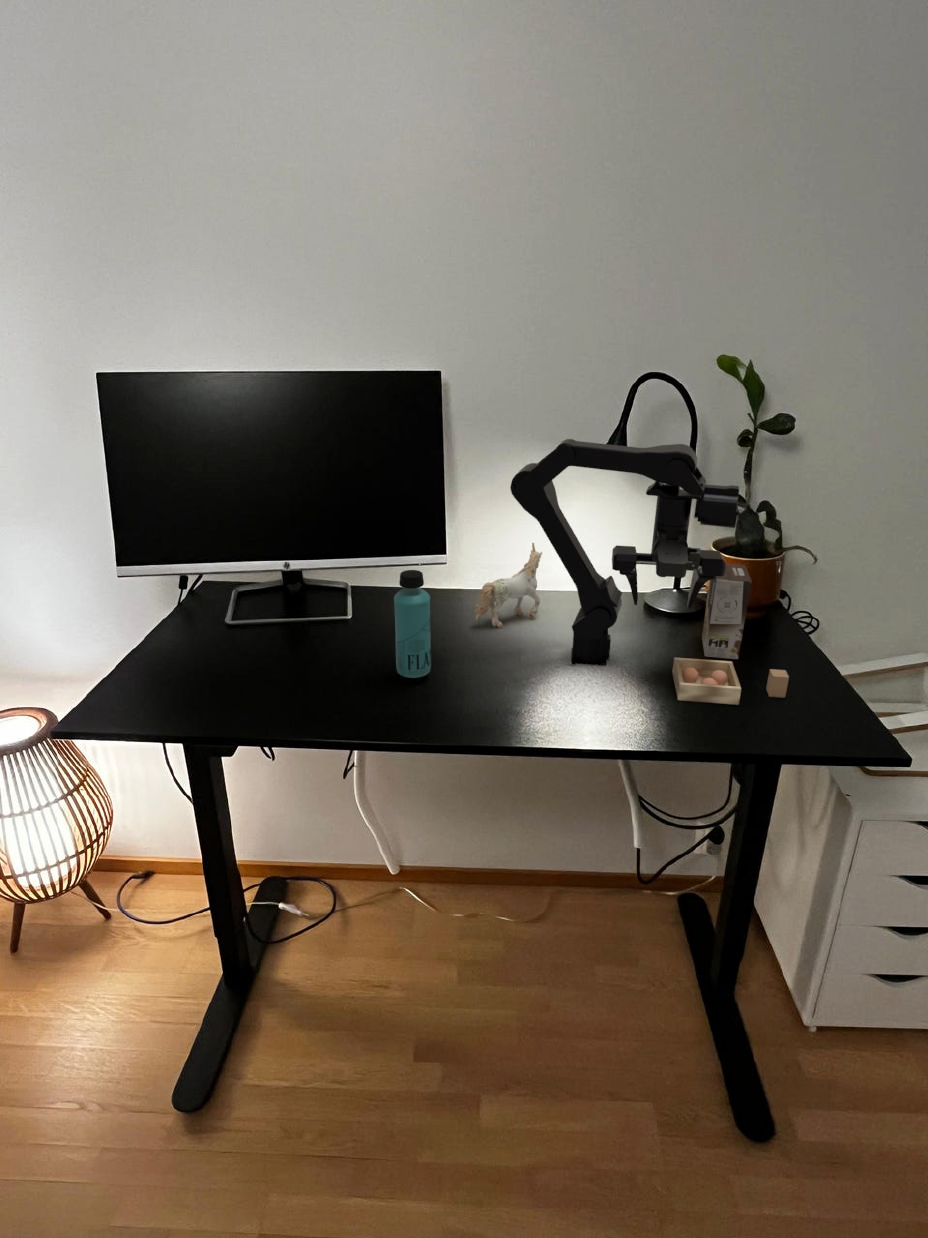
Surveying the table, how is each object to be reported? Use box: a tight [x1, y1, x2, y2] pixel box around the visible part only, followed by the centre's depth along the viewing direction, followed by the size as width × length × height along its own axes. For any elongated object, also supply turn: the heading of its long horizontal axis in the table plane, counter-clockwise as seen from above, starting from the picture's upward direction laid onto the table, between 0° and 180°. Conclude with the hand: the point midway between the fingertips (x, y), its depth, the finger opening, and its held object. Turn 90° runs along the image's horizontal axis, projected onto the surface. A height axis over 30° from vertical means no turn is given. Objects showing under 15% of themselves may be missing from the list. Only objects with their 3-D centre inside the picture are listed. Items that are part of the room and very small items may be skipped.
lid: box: [765, 668, 790, 699], centre depth 139 cm, size 10×10×5 cm
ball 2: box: [701, 678, 718, 685], centre depth 139 cm, size 3×3×3 cm
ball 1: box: [682, 668, 699, 683], centre depth 142 cm, size 3×3×3 cm
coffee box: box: [701, 563, 753, 660], centre depth 152 cm, size 9×6×16 cm
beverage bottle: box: [393, 569, 433, 679], centre depth 141 cm, size 6×7×20 cm
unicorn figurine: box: [474, 542, 543, 629], centre depth 166 cm, size 7×20×13 cm, turn 139°
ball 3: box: [711, 670, 728, 686], centre depth 141 cm, size 3×3×3 cm
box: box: [672, 657, 742, 706], centre depth 140 cm, size 10×10×4 cm
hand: (662, 605), depth 143 cm, fingers open, 9 cm apart
